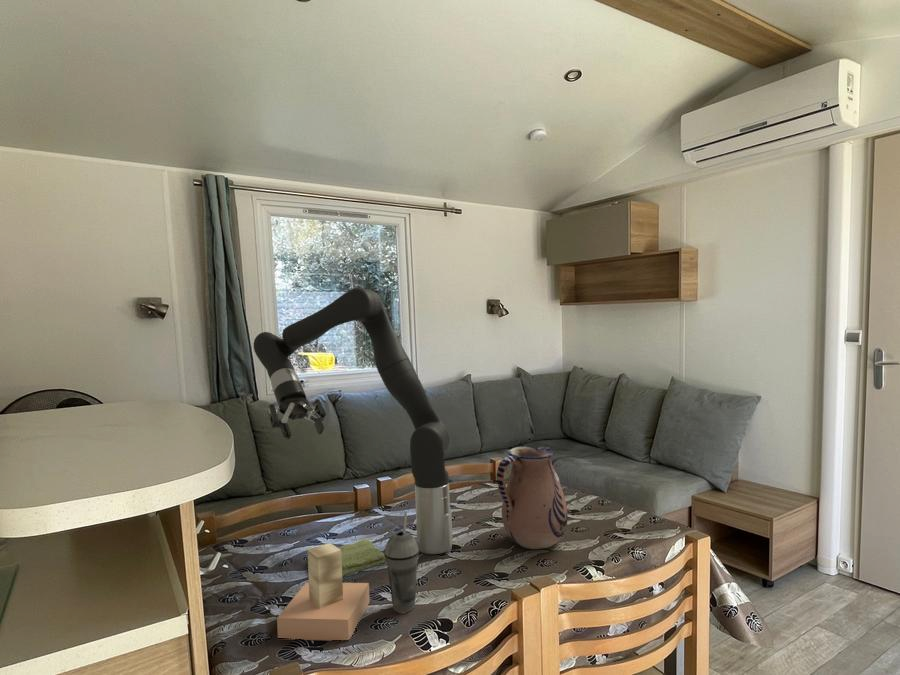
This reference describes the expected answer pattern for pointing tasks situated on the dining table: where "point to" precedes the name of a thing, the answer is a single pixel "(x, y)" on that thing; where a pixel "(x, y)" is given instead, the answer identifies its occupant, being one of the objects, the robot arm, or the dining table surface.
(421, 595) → the dining table surface
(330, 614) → the terracotta plinth
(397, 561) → the beverage cup
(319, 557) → the birch block
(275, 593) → the dining table surface
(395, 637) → the dining table surface
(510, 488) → the ceramic pitcher
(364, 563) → the washcloth
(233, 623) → the dining table surface
